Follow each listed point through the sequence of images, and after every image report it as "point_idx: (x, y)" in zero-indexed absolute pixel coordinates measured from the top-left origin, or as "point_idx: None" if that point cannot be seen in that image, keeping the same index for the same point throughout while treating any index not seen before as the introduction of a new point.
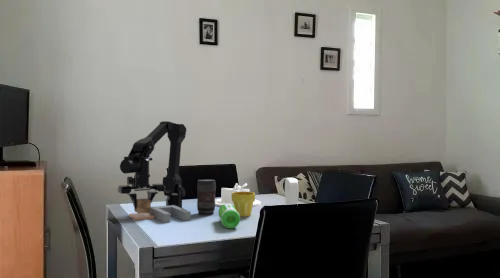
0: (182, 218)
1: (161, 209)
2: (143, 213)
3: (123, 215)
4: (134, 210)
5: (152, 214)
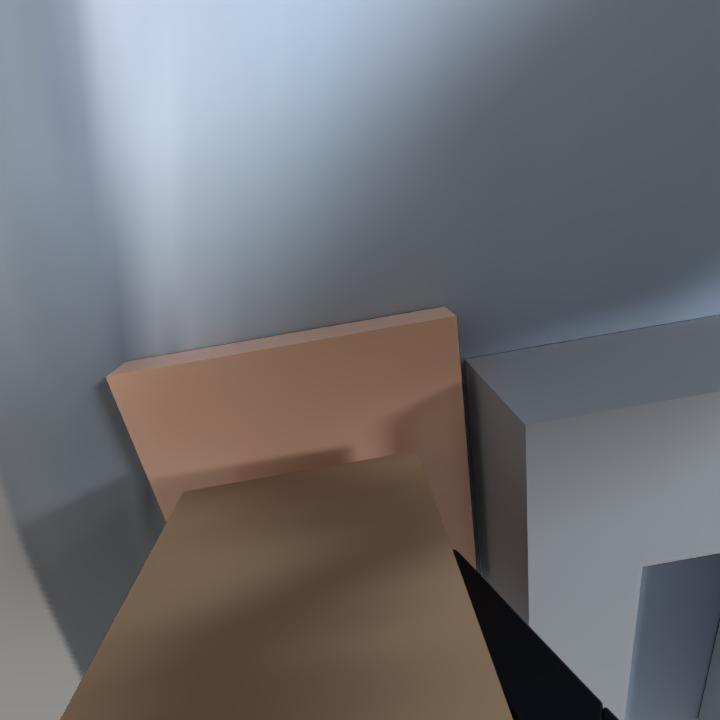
0: (718, 698)
1: (628, 682)
2: (367, 403)
3: (14, 253)
4: (181, 511)
5: (485, 504)
